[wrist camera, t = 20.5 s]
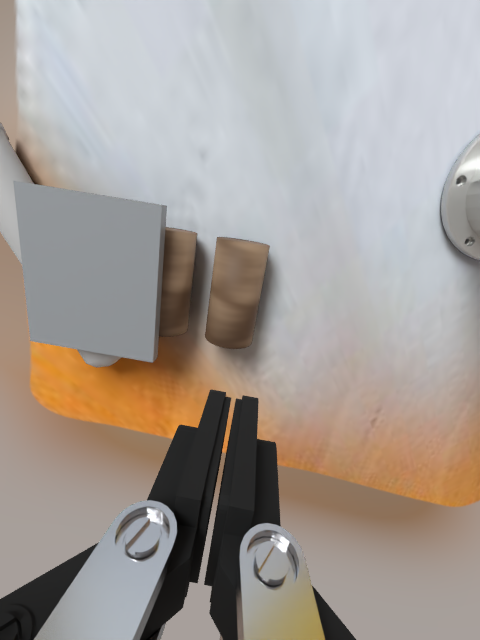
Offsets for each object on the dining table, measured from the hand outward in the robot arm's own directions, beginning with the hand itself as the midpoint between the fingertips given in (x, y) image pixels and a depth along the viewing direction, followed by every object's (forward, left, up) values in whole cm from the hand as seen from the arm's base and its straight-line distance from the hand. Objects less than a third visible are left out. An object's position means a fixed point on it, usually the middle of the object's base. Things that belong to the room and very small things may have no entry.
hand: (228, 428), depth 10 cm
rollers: (+5, 0, -22) cm, 22 cm away
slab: (+14, 0, -16) cm, 22 cm away
